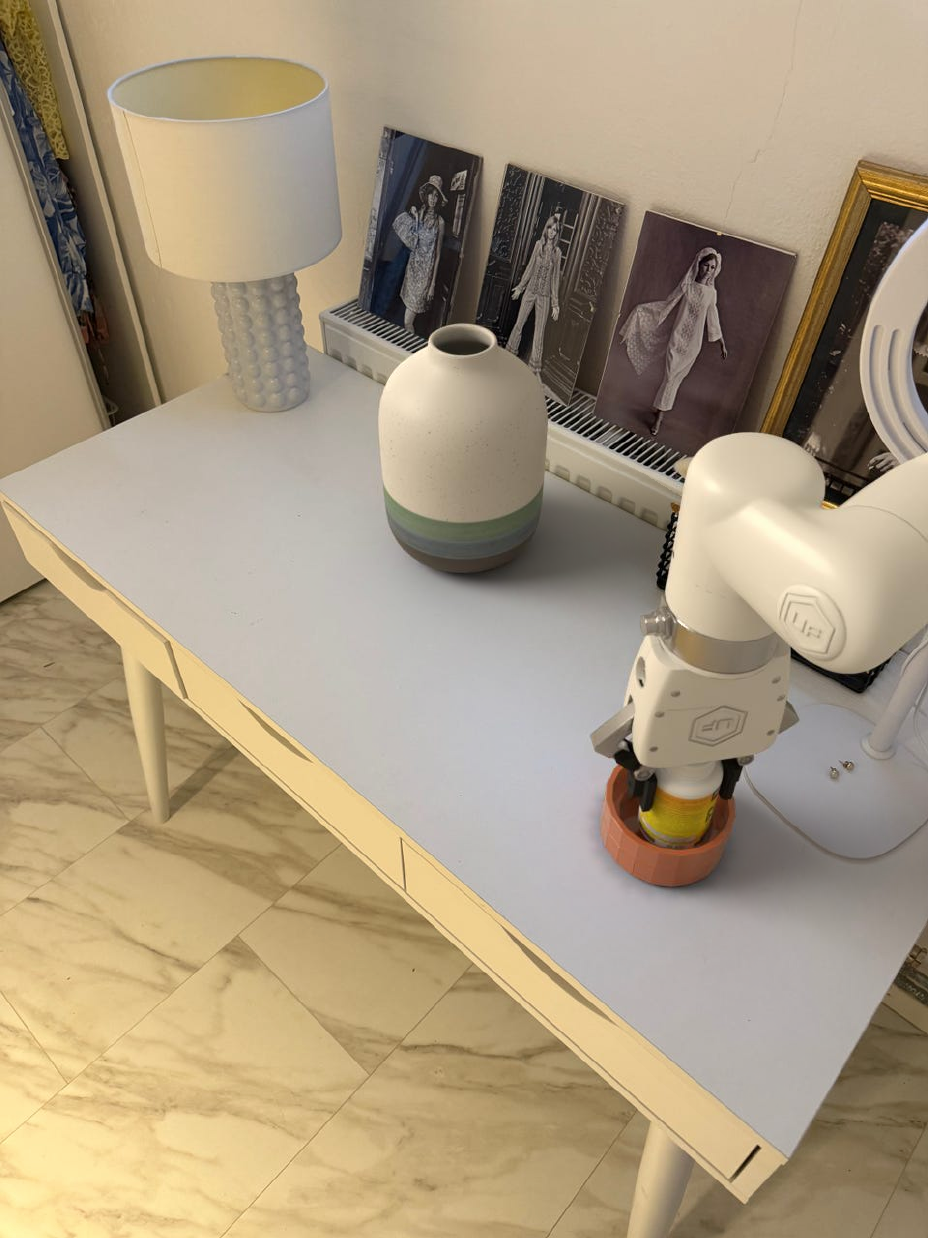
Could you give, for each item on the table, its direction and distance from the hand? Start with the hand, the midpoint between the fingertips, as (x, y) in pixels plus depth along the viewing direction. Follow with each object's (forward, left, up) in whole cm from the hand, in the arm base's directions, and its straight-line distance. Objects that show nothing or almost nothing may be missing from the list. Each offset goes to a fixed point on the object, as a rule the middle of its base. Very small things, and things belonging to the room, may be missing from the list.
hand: (680, 789), depth 71 cm
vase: (+41, +10, -7) cm, 42 cm away
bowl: (+1, 0, -7) cm, 7 cm away
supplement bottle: (0, 0, -5) cm, 5 cm away
